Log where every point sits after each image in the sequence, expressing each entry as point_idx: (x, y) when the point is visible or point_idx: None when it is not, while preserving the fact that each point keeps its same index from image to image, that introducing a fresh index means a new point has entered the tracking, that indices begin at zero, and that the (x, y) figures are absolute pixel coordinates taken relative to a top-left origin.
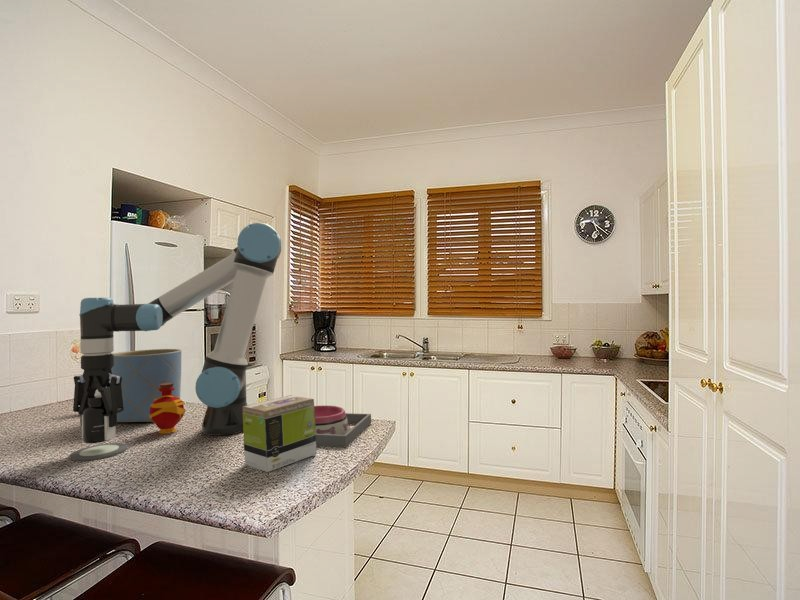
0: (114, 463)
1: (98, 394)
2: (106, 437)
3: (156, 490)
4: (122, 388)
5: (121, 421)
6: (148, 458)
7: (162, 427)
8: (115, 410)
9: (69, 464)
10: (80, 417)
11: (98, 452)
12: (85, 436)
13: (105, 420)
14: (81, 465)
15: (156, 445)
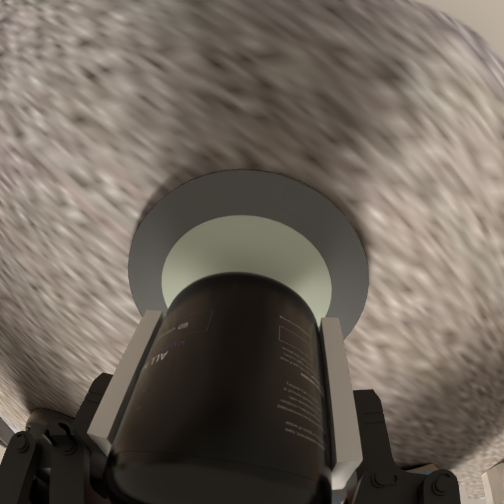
0: (43, 181)
1: (501, 496)
2: (144, 321)
3: None
4: None
5: (407, 471)
6: (3, 250)
7: None
8: (13, 446)
9: (237, 117)
10: (385, 441)
11: (212, 266)
12: (251, 296)
13: (110, 408)
14: (153, 119)
15: (104, 364)
